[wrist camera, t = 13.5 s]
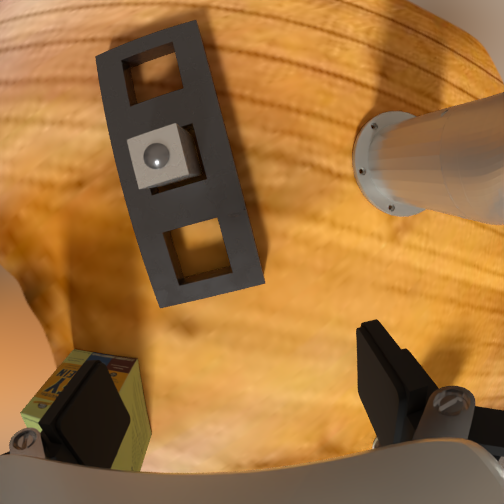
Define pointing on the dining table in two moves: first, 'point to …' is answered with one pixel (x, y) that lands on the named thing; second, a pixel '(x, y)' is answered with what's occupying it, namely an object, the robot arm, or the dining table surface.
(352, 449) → the dining table surface
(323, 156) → the dining table surface
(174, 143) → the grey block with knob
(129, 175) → the rail
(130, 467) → the protein box
